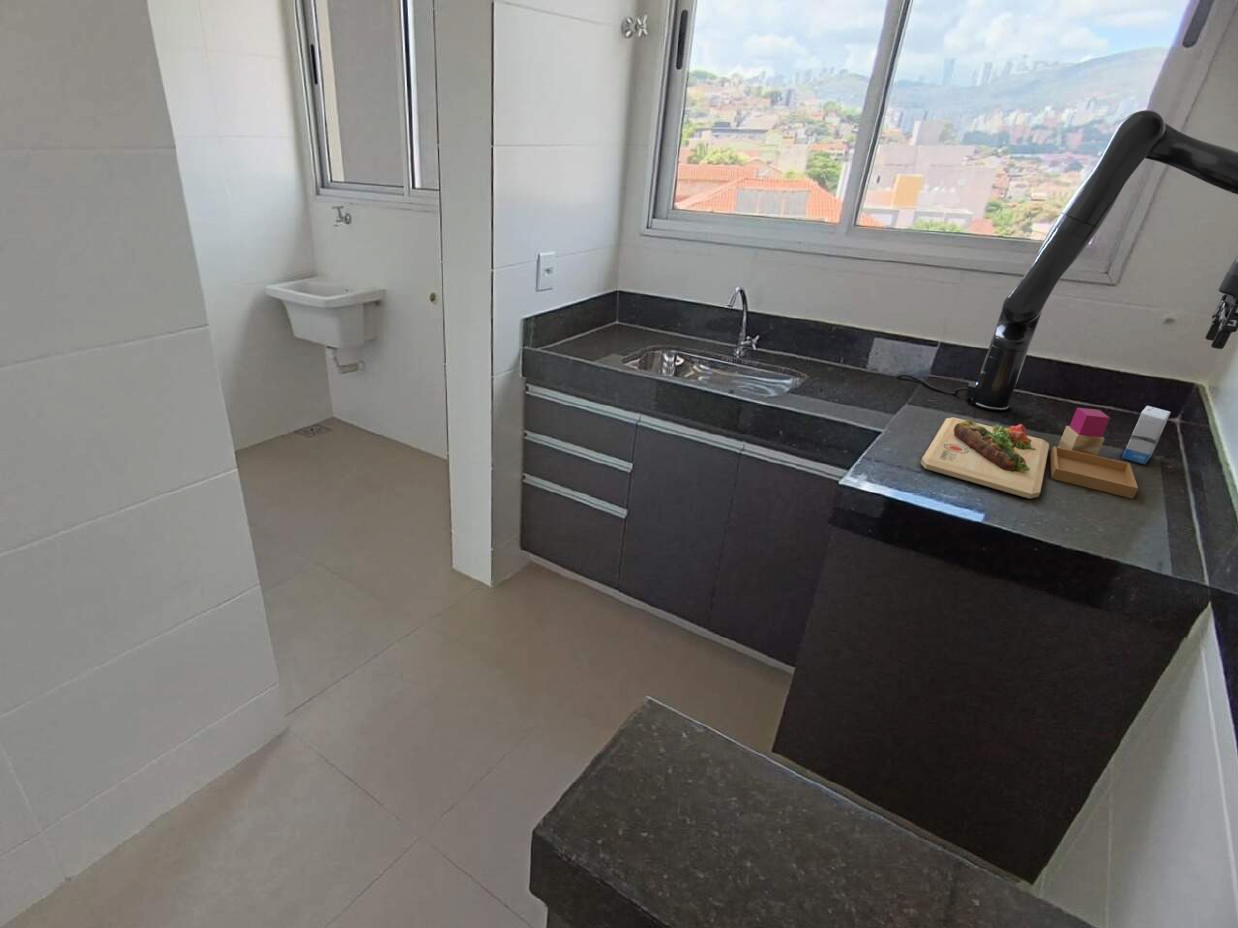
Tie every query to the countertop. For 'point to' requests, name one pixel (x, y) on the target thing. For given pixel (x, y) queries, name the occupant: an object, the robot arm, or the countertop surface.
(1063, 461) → the tray
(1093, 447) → the base block
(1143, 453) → the ink box
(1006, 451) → the cutting board
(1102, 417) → the pink block
